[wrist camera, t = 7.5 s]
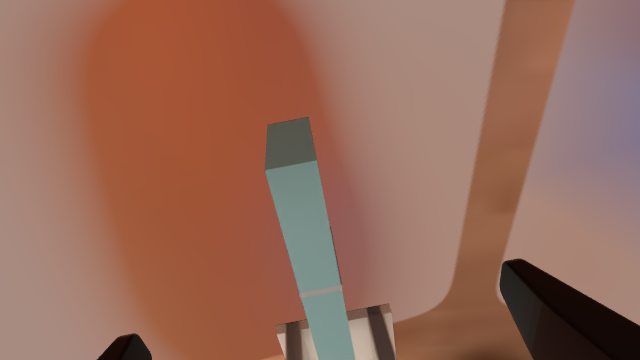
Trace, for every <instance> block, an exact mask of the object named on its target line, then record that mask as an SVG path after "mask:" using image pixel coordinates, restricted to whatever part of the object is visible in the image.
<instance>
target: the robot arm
mask: <svg viewBox="0 0 640 360" xmlns="http://www.w3.org/2000/svg"><path fill="white" fill-rule="evenodd" d="M500 291H501V294H502V296H503V298H504V300H505V302H506V304H507V306H508V308H509V310H510V313H511V315H512V317H513V319H514V321H515V323H516V325H517V327H518V329H519V331H520V333H521V336H522V338H523V340H524V342H525V344H526V346H527V348H528V350H529V352H530V354H531V356H532V357H533V359H534V360H640V326H639V325H638V324H636V323H634V322H632V321H630V320H628V319H627V318H625V317H623V316H622V315H620V314H618V313H616V312H615V311H613V310H611V309H609V308H607V307H606V306H604V305H602V304H601V303H599V302H597V301H595V300H593V299H592V298H590V297H588V296H586V295H584V294H583V293H581V292H579V291H578V290H576V289H574V288H572V287H571V286H569V285H567V284H565V283H564V282H562V281H560V280H558V279H557V278H555V277H553V276H551V275H549V274H548V273H546V272H544V271H543V270H541V269H539V268H537V267H536V266H534V265H532V264H530V263H529V262H527V261H525V260H522V259H513V260H508V261H505V262H504V263H503V264H502V269H501V277H500ZM97 360H152V356H151V353H150V351H149V350H148V348H147V347H146V345H145V344H144V342H143V341H142V339H141V338H140V336H139V335H137V334H128V335H123V336H120V337H118V338H117V339H116V340H115V341H114V342H113V343H112V344H111V345H110V346H109V347H108V348H107V349H106V350H105V351H104V353H103V354H102V355H101V356H100V357H99V358H98V359H97Z"/></svg>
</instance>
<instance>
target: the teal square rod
mask: <svg viewBox="0 0 640 360" xmlns="http://www.w3.org/2000/svg"><path fill="white" fill-rule="evenodd" d="M266 145H267V146H266V160H265V161H266V162H265V173H266V176H267V180H268V183H269V187H270V190H271V194H272V198H273V201H274V205H275V208H276V211H277V215H278V219H279V222H280V226H281V229H282V233H283V236H284V240H285V243H286V247H287V250H288V254H289V257H290V261H291V264H292V268H293V271H294V275H295V279H296V282H297V285H298V289H299V290H298V291H299V296H300V298H301V300H302V303H303V306H304V310H305V314H306V317H307V321H308V324H309V328H310V331H311V335H312V338H313V342H314V345H315V349H316V353H317V356H318V360H355V355H354V349H353V344H352V339H351V334H350V329H349V324H348V318H347V313H346V308H345V303H344V298H343V293H342V289H343V287H342V283H341V277H340V272H339V267H338V262H337V257H336V252H335V247H334V242H333V237H332V231H331V227H330V226H329V220H328V216H327V210H326V205H325V200H324V195H323V189H322V184H321V179H320V174H319V169H318V165H317V158H316V154H315V148H314V143H313V138H312V133H311V128H310V123H309V118H308V117H306V118H300V119H295V120H290V121H285V122H280V123H275V124H270V125H268V128H267V144H266Z"/></svg>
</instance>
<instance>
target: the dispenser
mask: <svg viewBox="0 0 640 360" xmlns="http://www.w3.org/2000/svg"><path fill="white" fill-rule="evenodd" d="M346 313H347V318H348V324H349V329H350V334H351V339H352V344H353V349H354V355H355V360H396V353H395V342H394V332H393V321H392V312H391V309H390V306H389V304H384V305H379V306H373V307H368V308H363V309H357V310H352V311H348V312H346ZM277 336H278V339H279V342H280V345H281V347H282V350H283V353H284V356H285V358H286V360H318V356H317V353H316V349H315V345H314V342H313V338H312V335H311V331H310V328H309V324H308V321H307V319H306V320H301V321H296V322H290V323H285V324H281V325H277Z"/></svg>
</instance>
